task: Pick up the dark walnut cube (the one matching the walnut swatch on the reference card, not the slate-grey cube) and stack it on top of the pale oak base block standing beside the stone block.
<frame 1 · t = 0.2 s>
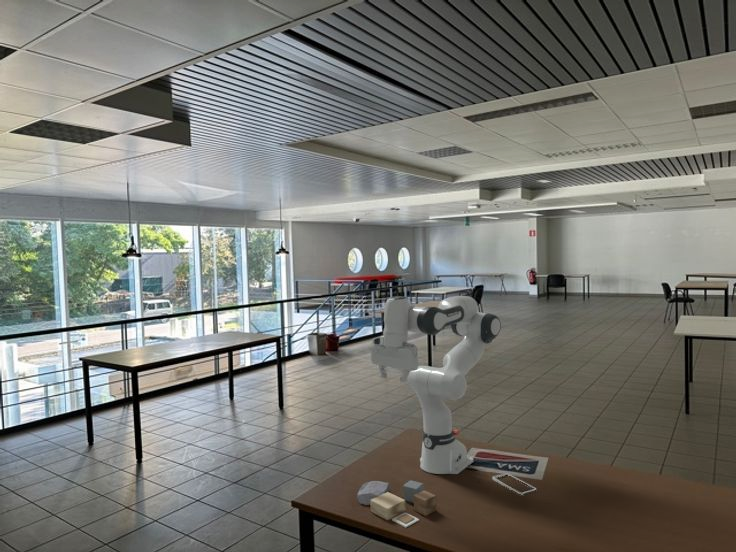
hand: (393, 380, 175), 39 cm above the table, tool pointing down, fingers open, 8 cm apart
oak base block: (388, 512, 158), on the table
slate cube: (413, 499, 166), on the table
stone block: (372, 498, 169), on the table
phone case: (513, 486, 174), on the table
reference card: (405, 520, 152), on the table
walnut cube: (425, 510, 158), on the table
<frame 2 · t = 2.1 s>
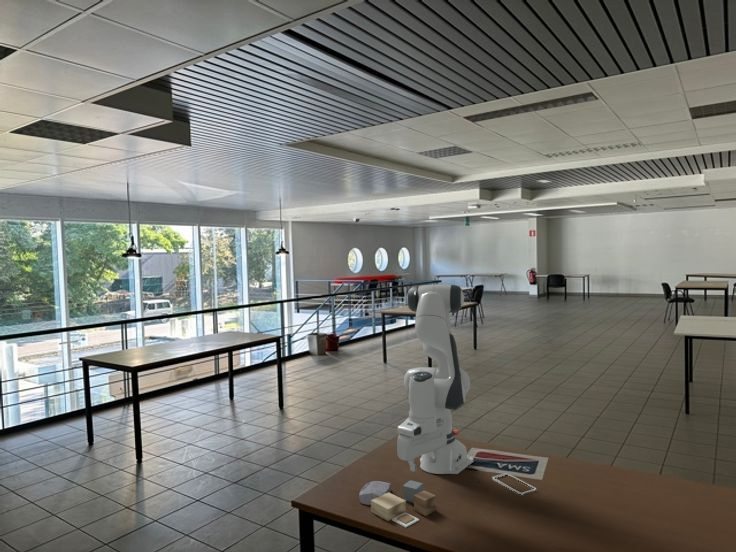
hand: (423, 466, 157), 14 cm above the table, tool pointing down, fingers open, 8 cm apart
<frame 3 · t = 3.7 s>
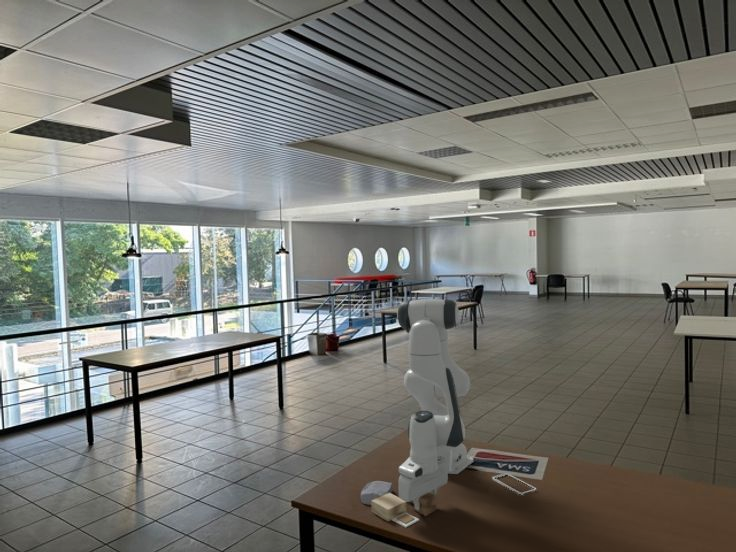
hand: (424, 505, 158), 2 cm above the table, tool pointing down, fingers closed on walnut cube, 5 cm apart
walnut cube: (425, 510, 158), on the table, touching gripper
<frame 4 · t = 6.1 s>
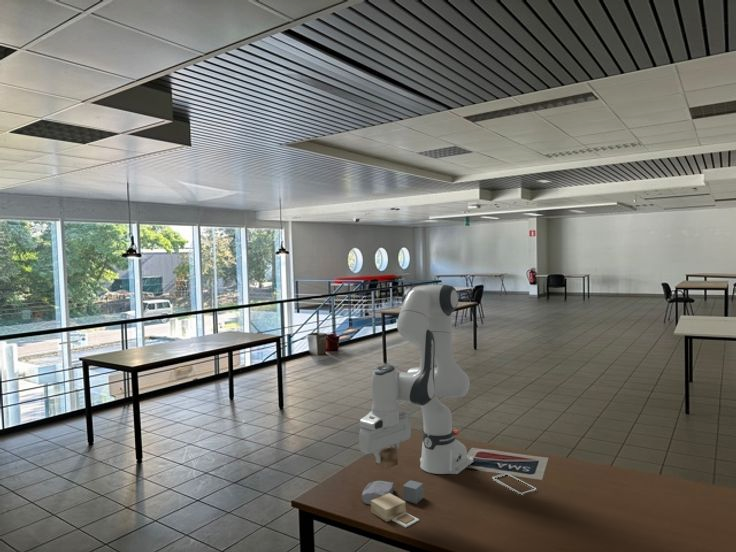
hand: (386, 459, 158), 17 cm above the table, tool pointing down, fingers closed on walnut cube, 5 cm apart
walnut cube: (386, 464, 158), point 15 cm above the table, touching gripper
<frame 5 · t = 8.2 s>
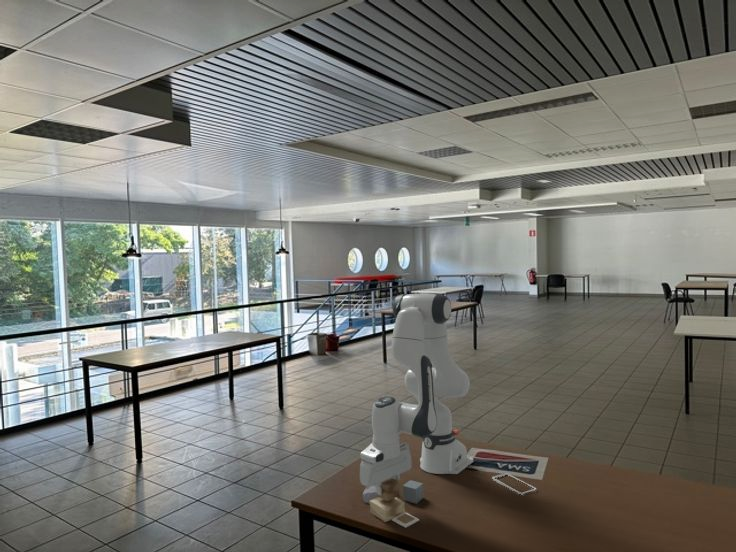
hand: (387, 491, 158), 7 cm above the table, tool pointing down, fingers closed on walnut cube, 5 cm apart
walnut cube: (387, 496, 158), point 5 cm above the table, touching gripper
when the fingers open (7 cm above the table, at t = 8.3 s): walnut cube drops 1 cm, resting on oak base block.
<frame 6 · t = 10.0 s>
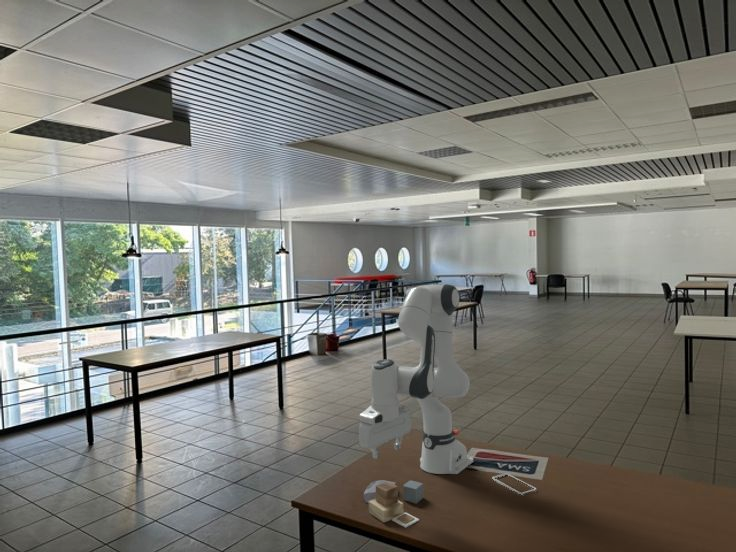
hand: (386, 453, 158), 19 cm above the table, tool pointing down, fingers open, 8 cm apart
oak base block: (386, 514, 157), on the table, touching walnut cube
walnut cube: (387, 501, 157), point 4 cm above the table, touching oak base block
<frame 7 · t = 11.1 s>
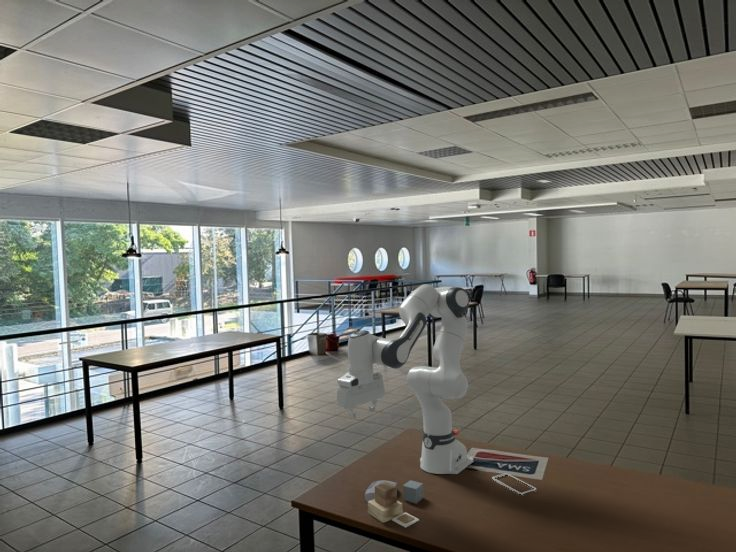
hand: (362, 414, 175), 26 cm above the table, tool pointing down, fingers open, 8 cm apart
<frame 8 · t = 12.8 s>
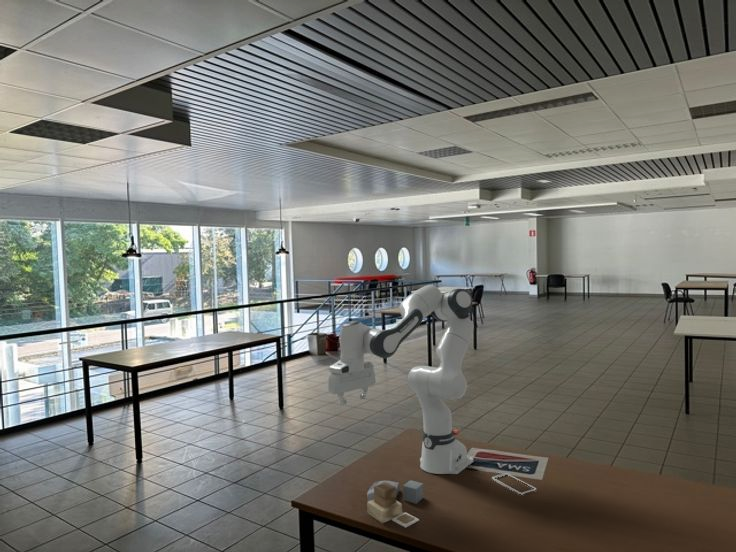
hand: (353, 401, 182), 29 cm above the table, tool pointing down, fingers open, 8 cm apart
at the end: walnut cube 0.5 cm off-centre on the oak base block, point 4.0 cm above the oak base block's base; walnut cube touching oak base block; the gripper is holding nothing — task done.
